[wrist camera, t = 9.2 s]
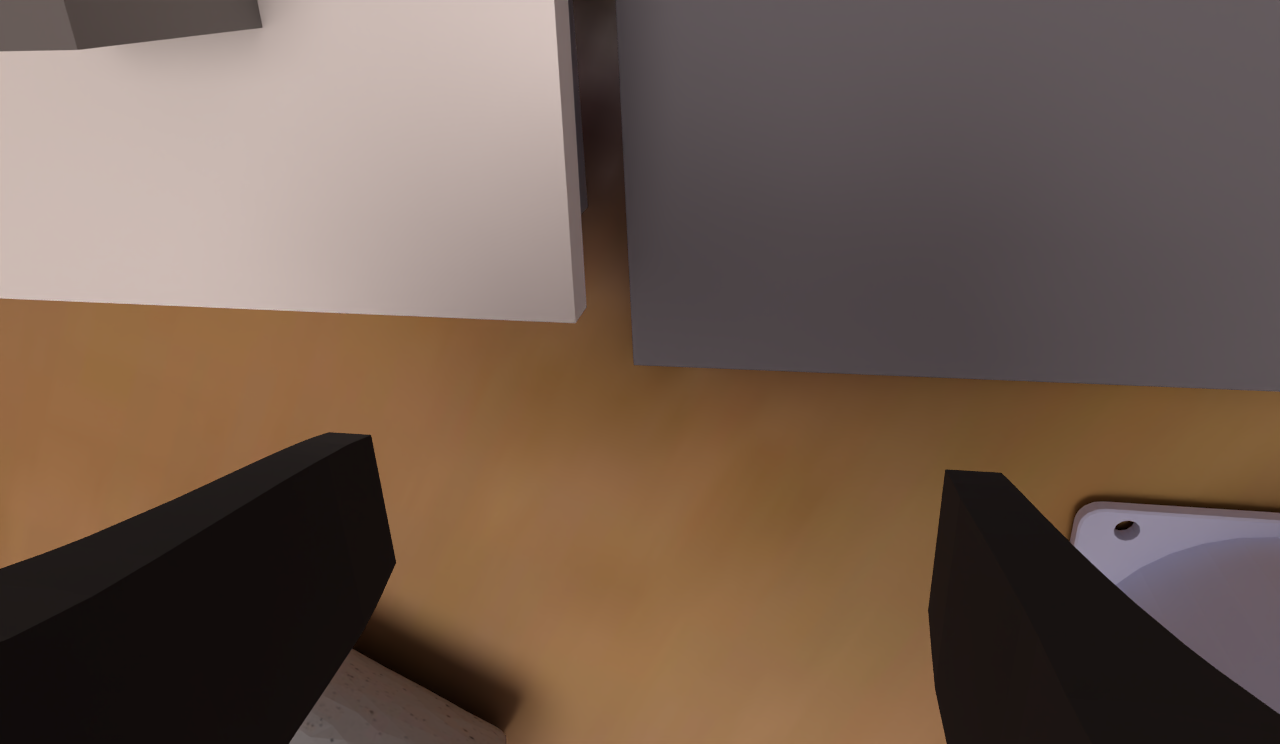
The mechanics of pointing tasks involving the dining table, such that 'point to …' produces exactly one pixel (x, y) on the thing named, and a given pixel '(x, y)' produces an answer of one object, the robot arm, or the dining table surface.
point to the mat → (956, 188)
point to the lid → (292, 156)
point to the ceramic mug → (388, 711)
